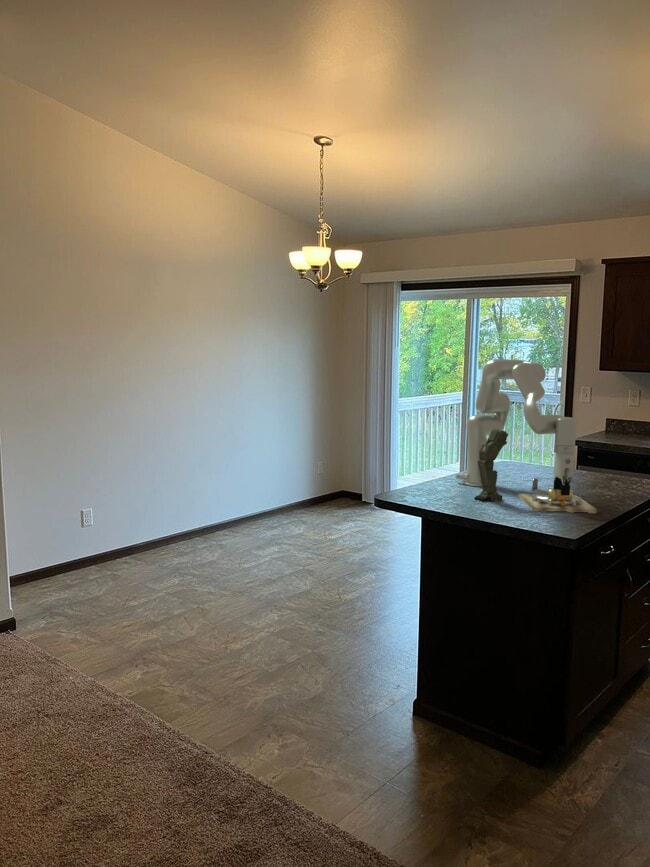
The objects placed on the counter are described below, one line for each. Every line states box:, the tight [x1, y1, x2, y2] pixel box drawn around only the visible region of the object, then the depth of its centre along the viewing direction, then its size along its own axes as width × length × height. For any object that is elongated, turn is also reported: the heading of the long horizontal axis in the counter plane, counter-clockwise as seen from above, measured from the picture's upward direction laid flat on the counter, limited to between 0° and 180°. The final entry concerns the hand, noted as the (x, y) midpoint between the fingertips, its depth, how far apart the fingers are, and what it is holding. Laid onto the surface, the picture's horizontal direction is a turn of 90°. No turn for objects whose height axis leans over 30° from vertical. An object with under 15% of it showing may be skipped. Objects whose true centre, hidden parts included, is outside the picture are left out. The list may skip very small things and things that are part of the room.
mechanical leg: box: [473, 429, 509, 503], centre depth 277 cm, size 14×7×30 cm, turn 118°
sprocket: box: [531, 478, 582, 506], centre depth 271 cm, size 19×21×6 cm
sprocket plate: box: [518, 493, 598, 514], centre depth 271 cm, size 24×24×2 cm
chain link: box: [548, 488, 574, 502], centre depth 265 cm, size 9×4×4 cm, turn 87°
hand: (561, 492), depth 265 cm, fingers open, 9 cm apart
